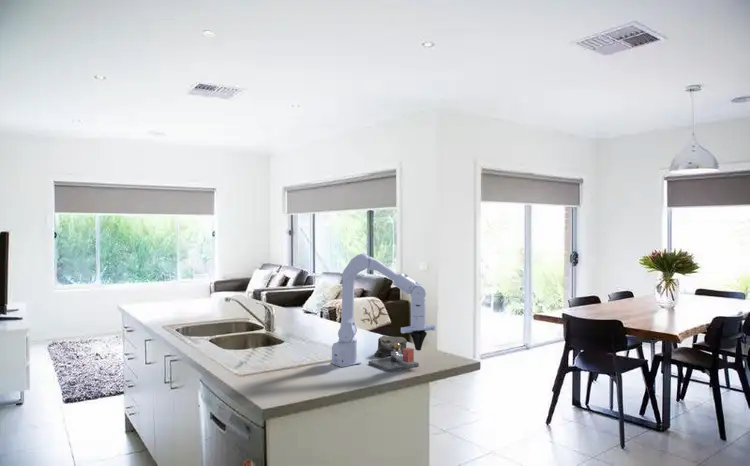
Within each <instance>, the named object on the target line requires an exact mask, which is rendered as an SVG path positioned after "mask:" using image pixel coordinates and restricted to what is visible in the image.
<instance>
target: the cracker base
mask: <svg viewBox="0 0 750 466" xmlns="http://www.w3.org/2000/svg"><path fill="white" fill-rule="evenodd" d="M400 348H401V345H400V344H399V343H396V344H395V345H394V350H393V351H398V353H400V354H403V353H402V350H399V349H400ZM368 365H370V366H373V367H375V368H378V369H381V370H383V371H387V372H390V373H392V372H396V371H402V370H406V369H407V370H408V369H411V368H412V369H413V368H416V367H420V366H419V362H416V361H414V362H409V363H407V362H404V361H403V360H400V359H391V356H388V357H383V358H377V359H372V360H368Z"/></svg>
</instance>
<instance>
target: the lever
mask: <svg viewBox="0 0 750 466" xmlns="http://www.w3.org/2000/svg"><path fill="white" fill-rule="evenodd" d="M414 353H415V348H411V347H406V348H404V349H403V353H402V354H400V353H398V351H391V354H390V357H391V359H400V360H403V361H404V362H407V363H409V362H415V361H414V359H415V357H414V356H415V354H414Z"/></svg>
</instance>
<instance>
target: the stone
mask: <svg viewBox="0 0 750 466" xmlns="http://www.w3.org/2000/svg"><path fill="white" fill-rule="evenodd" d="M377 340H378V341H377V349H376V351H375V352H374V358H377V359H383V358H387V356H388V357H389V356H391V351H393V350H394V345H395V344H396V343H399V344H400V345H401V348H400V349H399V350H402V354H403V349H404V348H407V344H408V343H407V342H408V340H407V339H406V338H405V337H403V336H391V335H390V336H389V335H381V336H380V337H379V338H378V339H377Z"/></svg>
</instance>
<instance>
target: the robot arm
mask: <svg viewBox="0 0 750 466" xmlns="http://www.w3.org/2000/svg"><path fill="white" fill-rule="evenodd" d="M366 269H368V271H376V272H378V273H380V274H382V275H383V276H385V277H387V278H388V279H390V280H391V281H393V285H394V286H395V287H396V288H398V289H399V290H400V291H402V292H403V293H405V294H407V295H410V297H411V302H410V326H409V325H408V326H404V327H400V333H401V334H410V337H411V339H412V341H413V344H414V351H418V352H419V351H421V350H422V347H423V343H424V340H425V338H426V336H427V334H428V333H427V331H436V325H434V324H426V303H425V302H426V294H427V293H426V289H425V287H424V285H422V284H421V283H419V282H418V281H417V280H413V279H411V278H410V277H409V275H408V274H407V273H397V272H395V271H394V270H393V269H392V268H390V267H388V265H387V266H386V265H385V264H384V263H382V262H381V261H380V260H378V259H376V258H374V257H373V256H370V255H368V254H367V253H360V254H357V255H355V256H353V258H351V259H350V261H349V262H348V264H347V266H346V267H345V268H344V270H343V271H342V279H341V280H342V284H341V285H342V290H341V293H342V294H341V319H340V328H339V330H337V331H338V333H337V336H338V341H337V342H334V343H333V344H332V346H331V362H330V364H333V365H334V366H335V365H336V366H338V367H341V368H343V367H349V366H354V365H359V364H361V363H362V362H361V361H359V360H357V359H358V358H357V357H358V356H357V351H358V350H357V338H356V334H357V331H358V330H357V329H358V328H357V326H356V324H355V277H356V276H357V275H358V274H360V273H361V272H362V271H365V270H366Z"/></svg>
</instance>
